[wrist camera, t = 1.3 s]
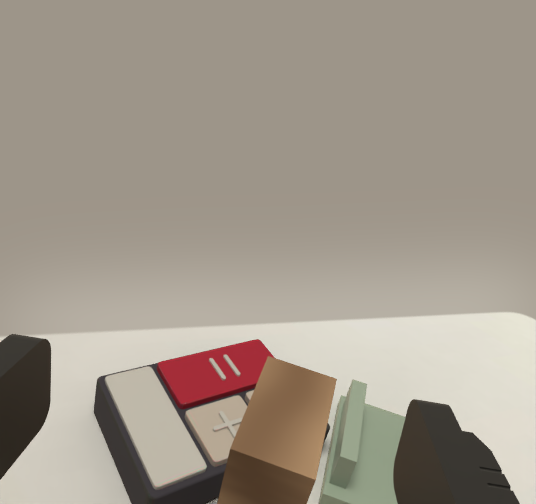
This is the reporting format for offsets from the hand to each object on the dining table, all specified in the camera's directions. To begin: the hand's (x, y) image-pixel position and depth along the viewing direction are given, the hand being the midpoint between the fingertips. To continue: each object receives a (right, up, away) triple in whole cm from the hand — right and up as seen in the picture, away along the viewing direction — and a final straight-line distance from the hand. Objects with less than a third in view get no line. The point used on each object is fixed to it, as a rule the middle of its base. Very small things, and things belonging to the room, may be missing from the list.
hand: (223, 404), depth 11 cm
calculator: (-4, -11, +29) cm, 31 cm away
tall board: (-2, -17, +16) cm, 23 cm away
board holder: (+10, -14, +29) cm, 33 cm away
